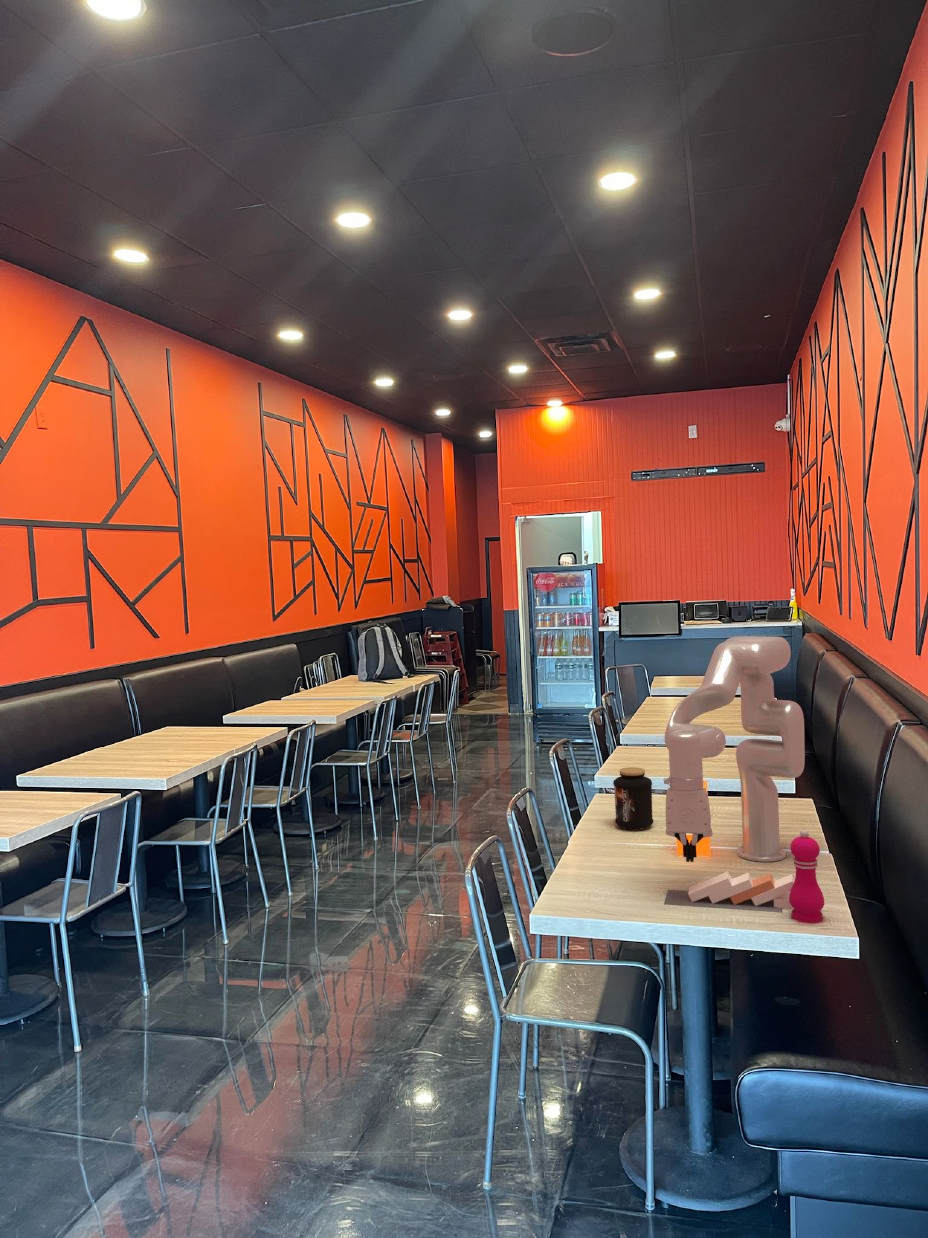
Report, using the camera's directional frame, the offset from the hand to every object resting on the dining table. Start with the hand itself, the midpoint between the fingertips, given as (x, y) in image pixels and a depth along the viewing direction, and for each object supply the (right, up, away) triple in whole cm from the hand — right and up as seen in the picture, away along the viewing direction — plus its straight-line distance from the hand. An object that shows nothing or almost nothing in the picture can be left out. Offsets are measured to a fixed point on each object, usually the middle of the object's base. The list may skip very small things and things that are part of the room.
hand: (690, 860), depth 206 cm
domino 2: (+4, -8, -2) cm, 9 cm away
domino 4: (+13, -8, -5) cm, 16 cm away
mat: (+7, -9, -2) cm, 12 cm away
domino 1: (0, -8, 0) cm, 8 cm away
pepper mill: (+22, -9, -15) cm, 28 cm away
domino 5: (+18, -7, -6) cm, 20 cm away
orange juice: (+10, -8, +37) cm, 39 cm away
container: (-1, -8, +64) cm, 64 cm away
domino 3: (+9, -8, -3) cm, 12 cm away
